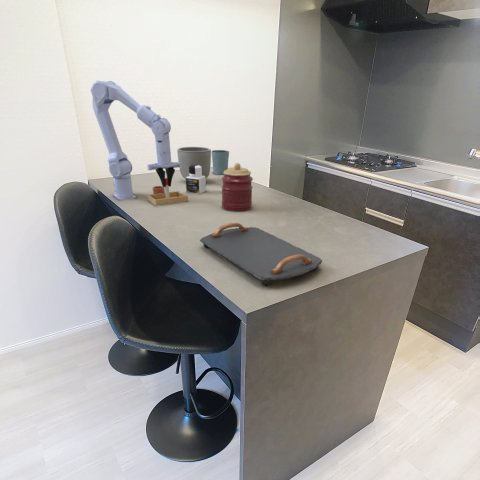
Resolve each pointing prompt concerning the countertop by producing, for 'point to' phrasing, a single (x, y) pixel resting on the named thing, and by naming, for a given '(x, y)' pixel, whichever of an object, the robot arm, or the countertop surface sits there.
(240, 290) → the countertop surface
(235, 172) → the kitchen canister
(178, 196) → the tray
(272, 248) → the serving tray
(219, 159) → the blue tapered pot
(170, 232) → the countertop surface
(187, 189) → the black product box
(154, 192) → the cup
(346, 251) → the countertop surface
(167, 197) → the marker
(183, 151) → the planter
